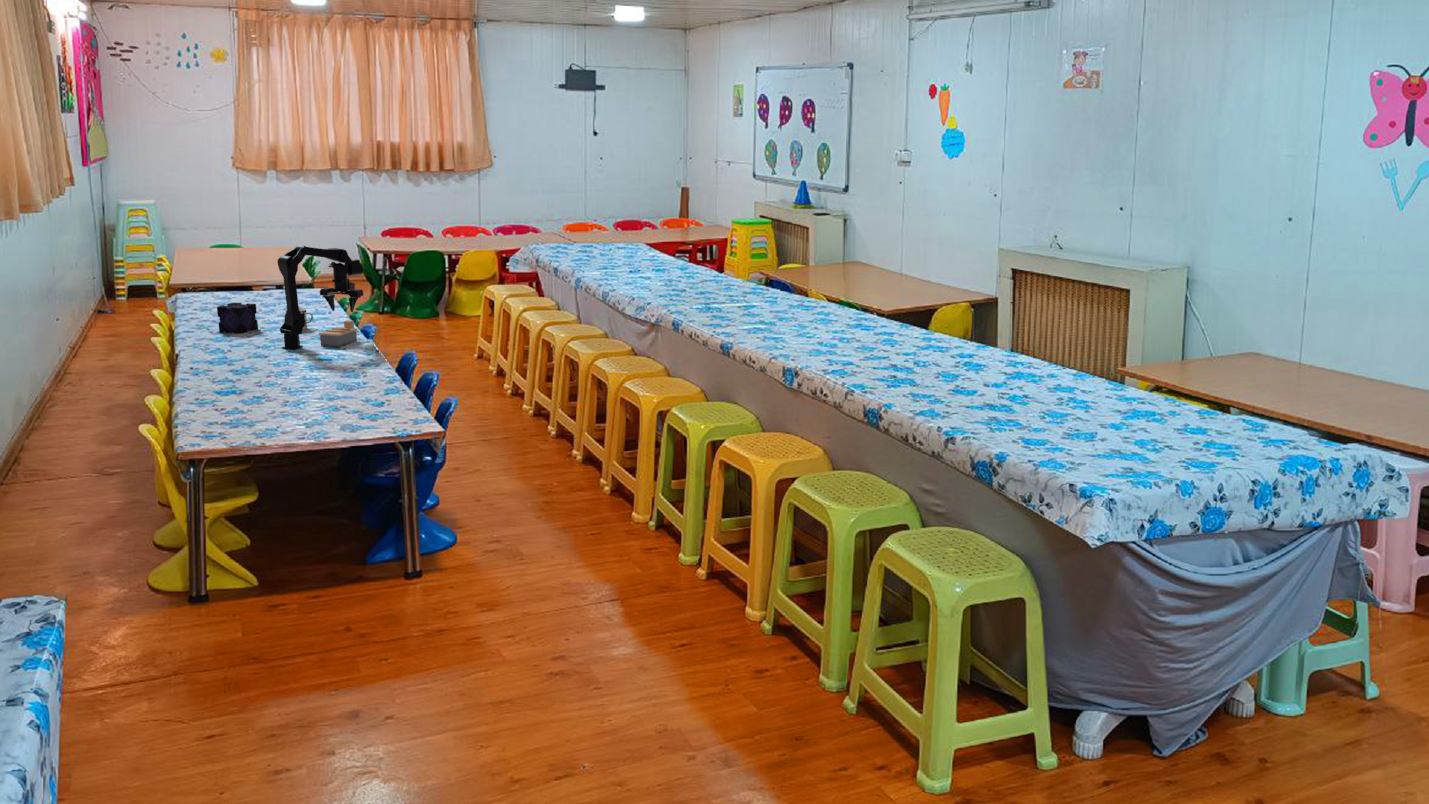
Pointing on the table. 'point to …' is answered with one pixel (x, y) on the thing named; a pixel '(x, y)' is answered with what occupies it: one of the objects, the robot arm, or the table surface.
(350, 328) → the lid
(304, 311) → the teacup with lid
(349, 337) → the tub
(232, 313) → the energy cube
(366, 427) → the table surface
